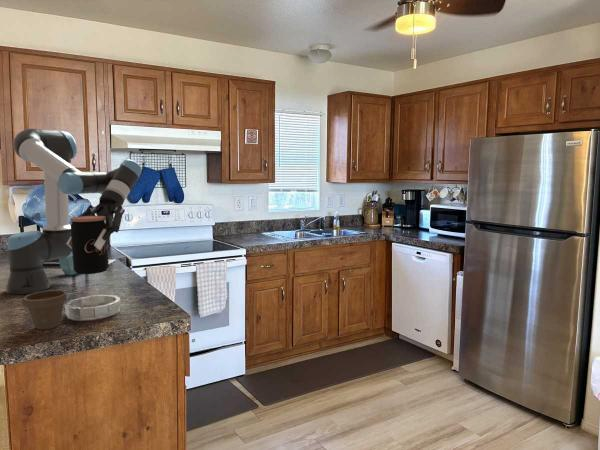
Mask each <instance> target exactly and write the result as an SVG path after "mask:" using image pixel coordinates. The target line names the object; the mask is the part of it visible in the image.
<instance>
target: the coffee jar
mask: <svg viewBox="0 0 600 450" xmlns="http://www.w3.org/2000/svg"><path fill="white" fill-rule="evenodd" d="M80 216H81V215H80ZM80 216H73V217H69V222H71V224H70V225H71V240H72V254H73V268H74V271H75V272H76V273H77V274H76V275H93V274H94V275H95V274H101V273H104V272H107V271H108V268H109V267H110V265H109V249H108V240H107V241H106V242H105V243H104V245H103V247H102V248H101V250H98V249H97V248H96V247H95V246H94V244H95V242H96V241H97V239H98V237H99V236H100V234H101V232H102V231H103V229H106V228H105V227H106V217H105V216H97V215H96V216H81V217H80ZM106 230H107V229H106Z"/></svg>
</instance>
